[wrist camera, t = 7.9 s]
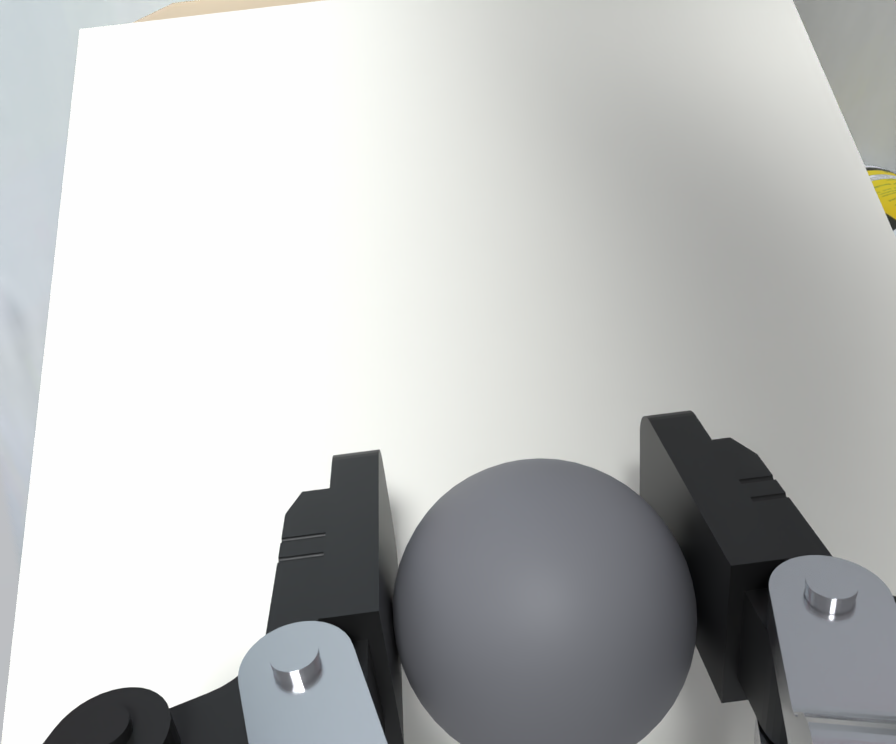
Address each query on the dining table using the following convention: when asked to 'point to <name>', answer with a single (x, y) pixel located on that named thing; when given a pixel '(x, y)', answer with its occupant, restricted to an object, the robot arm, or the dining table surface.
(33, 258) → the dining table surface
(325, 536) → the robot arm
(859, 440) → the lid
